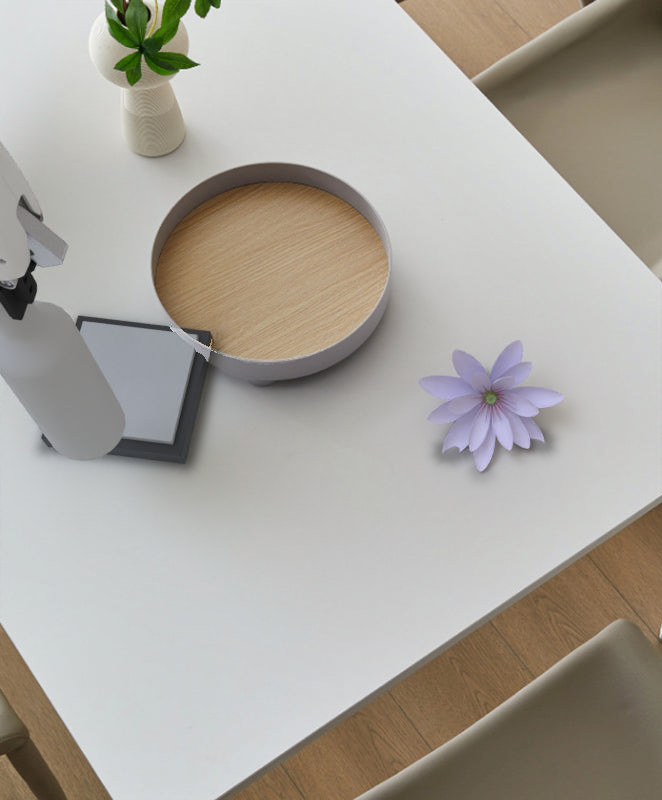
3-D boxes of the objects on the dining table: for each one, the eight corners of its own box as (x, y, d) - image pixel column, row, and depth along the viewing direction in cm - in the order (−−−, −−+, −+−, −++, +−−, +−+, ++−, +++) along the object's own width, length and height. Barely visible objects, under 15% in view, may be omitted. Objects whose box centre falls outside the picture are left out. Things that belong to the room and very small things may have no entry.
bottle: (72, 475, 86) (-52, 312, 60) (34, 418, 88) (-102, 237, 63) (140, 432, 88) (47, 256, 62) (100, 377, 90) (-6, 184, 64)
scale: (48, 448, 102) (38, 435, 99) (84, 327, 108) (75, 311, 105) (185, 465, 101) (179, 452, 98) (214, 342, 107) (209, 327, 104)
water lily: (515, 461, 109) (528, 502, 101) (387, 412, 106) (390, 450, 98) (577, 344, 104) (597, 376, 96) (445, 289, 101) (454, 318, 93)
